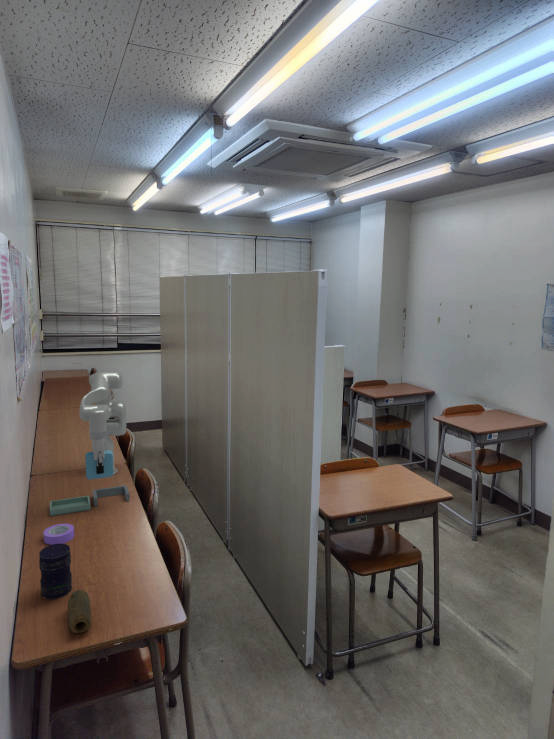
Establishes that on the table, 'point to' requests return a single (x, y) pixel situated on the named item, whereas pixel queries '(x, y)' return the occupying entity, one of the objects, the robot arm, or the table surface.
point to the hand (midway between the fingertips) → (99, 471)
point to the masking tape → (59, 534)
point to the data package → (92, 465)
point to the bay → (110, 493)
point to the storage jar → (55, 571)
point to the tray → (69, 505)
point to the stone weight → (79, 612)
